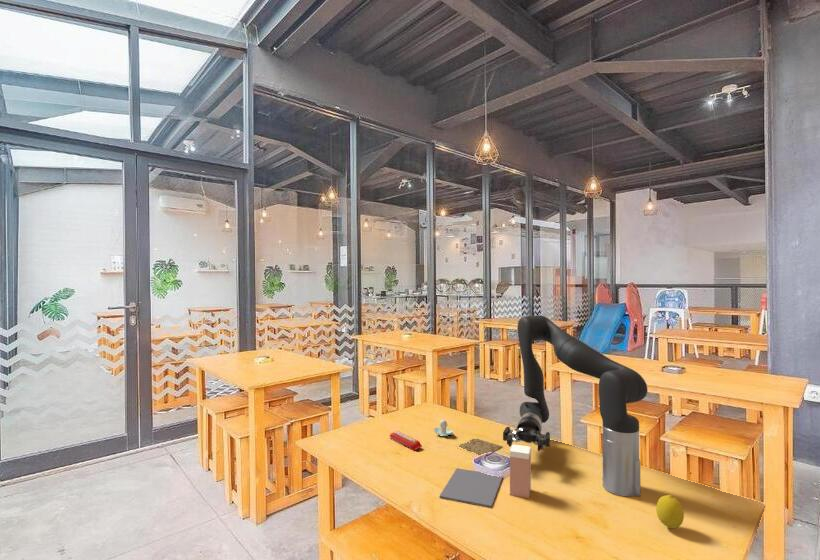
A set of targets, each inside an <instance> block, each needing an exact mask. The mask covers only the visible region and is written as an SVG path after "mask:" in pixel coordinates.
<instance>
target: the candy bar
mask: <svg viewBox="0 0 820 560" xmlns="http://www.w3.org/2000/svg"><path fill="white" fill-rule="evenodd" d="M389 437H390V439H391V440H392V439H393V440H392V441H394V440H395V441H394V442H396V441H397V442H396V443H398V442H399V443H398V444H400V443H401V444H400V445H402V444H403V445H402V446H404V445H405V446H406V448H407V447H409V448H411V449H413V450H412V451H417V450H418V449H419V448H422V447H423V446H422V444H421V442H420V441H419V440H417V438H414V437H411V436H409V435H407V434H405V433H404V432H401V431H399V430H395V431H393V432H391V433H390V434H389ZM405 446H404V447H405ZM409 448H408V449H409ZM411 449H410V450H411Z"/></svg>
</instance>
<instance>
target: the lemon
mask: <svg viewBox="0 0 820 560" xmlns="http://www.w3.org/2000/svg"><path fill="white" fill-rule="evenodd" d="M682 505H683V504H682V503H681V502H680V501H679V500H678V498H676V497H674V496H672V494H668V495H667V494H666V495H662V496H661V497H660V498H659V499H658V500H657V503H656V508H655V509H656V515H657V518H658V520H659V521H660V523H662V525H664V527H665V526H666V527H667V528H668V529H669V530H672V529H676V528H679V527H680V526H681V525H682V524H683V522H684V518H685V515H684V514H685V513H684V508H683V506H682Z"/></svg>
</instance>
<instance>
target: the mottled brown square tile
mask: <svg viewBox="0 0 820 560" xmlns="http://www.w3.org/2000/svg"><path fill="white" fill-rule="evenodd" d="M466 442H467V443H466ZM466 442H465V443H460V444H459V445H458V446H459V447H461V448H463V449H466V450H467V451H466V452H468V451H470V452H469V453H471V452H474V453H476V454H475V455H477V454H478V455H477V456H479V455H481V454H484V453H488V452H493V453H495V452H496V451H497V452H498V451H499V450H500V449H502V448H504V446H503V445H499V444H496V443H493V442H489V441H486V440H483V439H480V438H477V439H474V438H471V439H470V440H469V442H470V443H469V442H468V441H466ZM474 453H473V454H474Z"/></svg>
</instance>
